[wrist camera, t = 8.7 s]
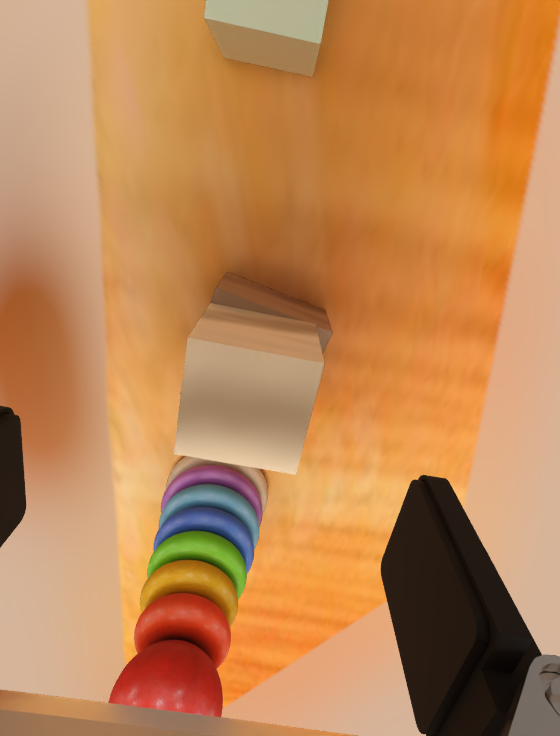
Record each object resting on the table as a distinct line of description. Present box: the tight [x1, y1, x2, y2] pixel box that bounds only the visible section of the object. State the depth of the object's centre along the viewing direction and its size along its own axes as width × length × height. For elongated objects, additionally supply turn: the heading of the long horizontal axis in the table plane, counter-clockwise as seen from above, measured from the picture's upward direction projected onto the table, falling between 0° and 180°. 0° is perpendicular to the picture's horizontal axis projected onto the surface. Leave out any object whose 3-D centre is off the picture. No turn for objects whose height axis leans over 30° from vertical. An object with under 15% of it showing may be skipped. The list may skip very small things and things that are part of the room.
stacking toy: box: [109, 456, 268, 717], centre depth 26 cm, size 8×8×19 cm
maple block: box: [174, 303, 324, 475], centre depth 22 cm, size 6×6×6 cm
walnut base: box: [180, 272, 333, 394], centre depth 28 cm, size 7×7×5 cm
